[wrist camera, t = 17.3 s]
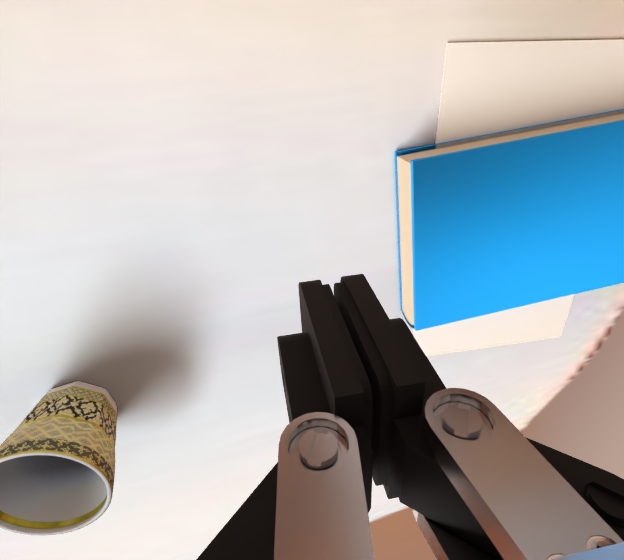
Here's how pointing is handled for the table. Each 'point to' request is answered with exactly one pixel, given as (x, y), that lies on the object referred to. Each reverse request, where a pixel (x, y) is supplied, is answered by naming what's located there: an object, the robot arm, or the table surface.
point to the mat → (512, 115)
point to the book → (510, 220)
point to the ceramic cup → (59, 462)
